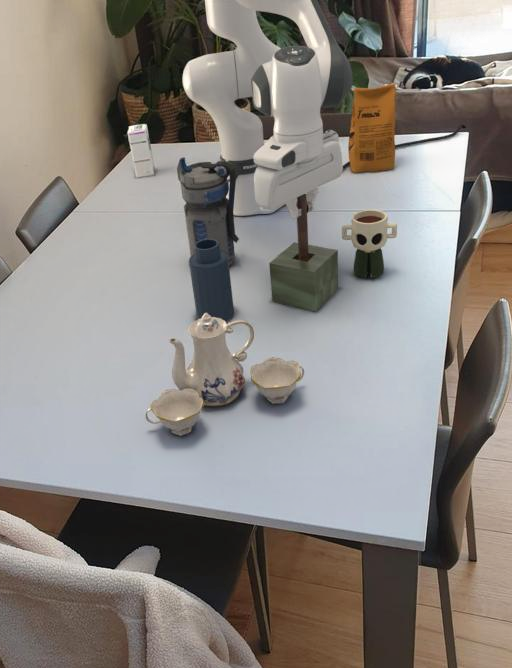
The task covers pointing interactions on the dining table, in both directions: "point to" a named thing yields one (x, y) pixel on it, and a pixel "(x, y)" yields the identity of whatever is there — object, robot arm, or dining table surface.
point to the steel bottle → (211, 280)
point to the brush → (302, 229)
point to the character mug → (369, 240)
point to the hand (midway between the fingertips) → (301, 214)
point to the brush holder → (304, 277)
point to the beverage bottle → (209, 203)
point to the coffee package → (372, 129)
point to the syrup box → (141, 150)
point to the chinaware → (217, 376)
